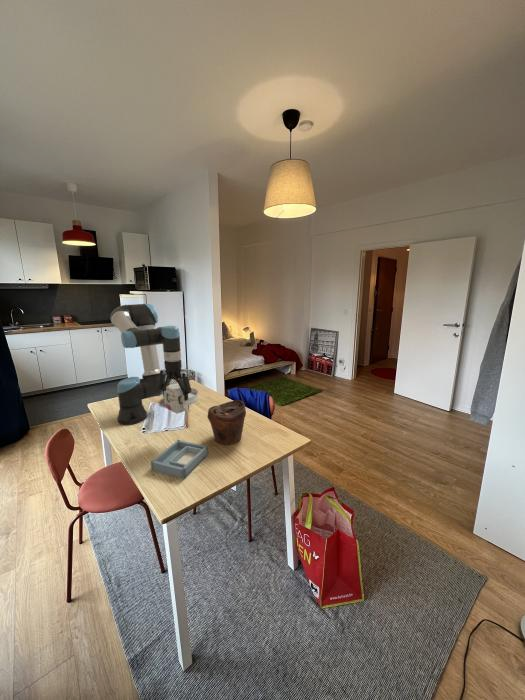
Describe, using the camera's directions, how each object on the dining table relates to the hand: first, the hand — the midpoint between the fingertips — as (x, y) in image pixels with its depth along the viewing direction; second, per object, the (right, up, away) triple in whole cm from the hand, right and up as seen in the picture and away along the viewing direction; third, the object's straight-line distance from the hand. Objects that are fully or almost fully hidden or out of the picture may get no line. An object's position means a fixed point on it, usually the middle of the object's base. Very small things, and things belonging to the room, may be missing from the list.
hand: (176, 404), depth 137 cm
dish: (-12, -7, +52) cm, 54 cm away
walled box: (+6, -22, -14) cm, 27 cm away
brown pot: (+24, -18, +5) cm, 30 cm away
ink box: (0, -3, +1) cm, 3 cm away
